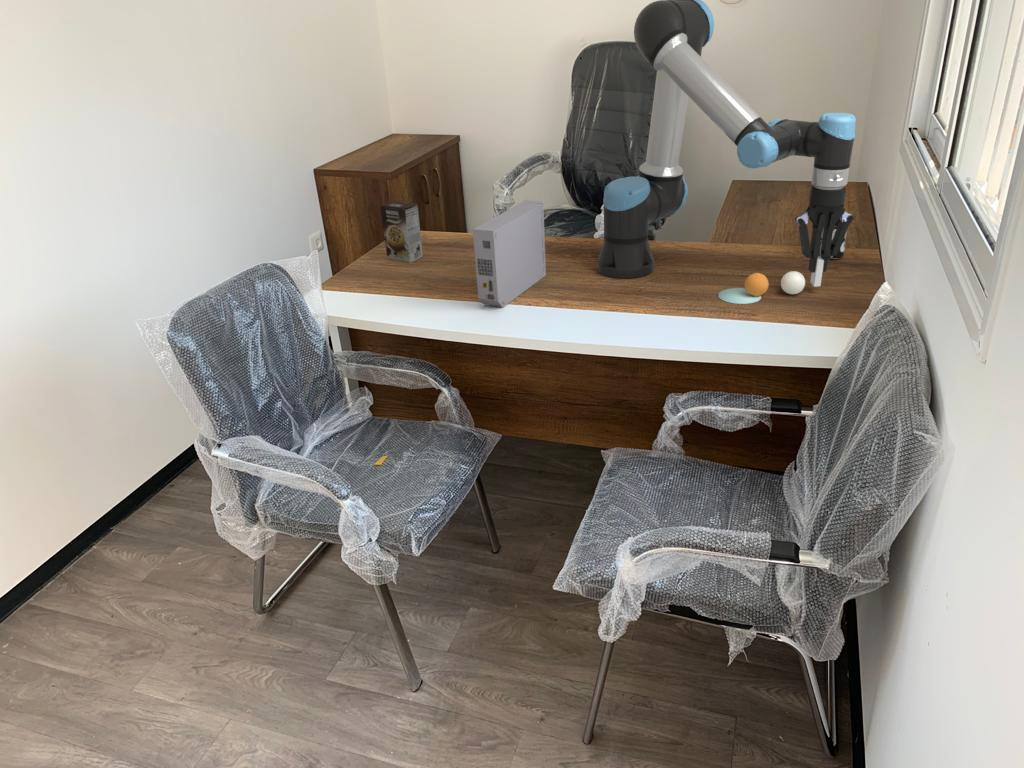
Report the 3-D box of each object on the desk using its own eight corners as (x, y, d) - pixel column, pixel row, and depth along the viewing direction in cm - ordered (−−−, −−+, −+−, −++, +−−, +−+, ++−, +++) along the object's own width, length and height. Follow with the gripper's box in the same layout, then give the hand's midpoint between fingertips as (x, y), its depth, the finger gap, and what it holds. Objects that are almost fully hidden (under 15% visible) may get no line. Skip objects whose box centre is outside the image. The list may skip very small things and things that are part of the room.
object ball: (764, 302, 181) (744, 295, 180) (757, 294, 186) (737, 286, 185) (775, 282, 179) (755, 274, 178) (768, 274, 184) (748, 266, 183)
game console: (548, 274, 205) (545, 201, 195) (499, 311, 184) (494, 231, 174) (529, 272, 207) (525, 199, 198) (479, 308, 186) (472, 229, 177)
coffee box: (386, 259, 224) (378, 205, 216) (400, 253, 229) (393, 199, 221) (410, 263, 219) (403, 208, 212) (424, 256, 224) (417, 202, 217)
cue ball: (813, 284, 179) (796, 302, 181) (804, 276, 184) (788, 293, 186) (798, 271, 177) (781, 289, 179) (789, 263, 182) (772, 281, 184)
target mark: (724, 305, 179) (724, 304, 179) (713, 290, 188) (713, 289, 188) (766, 302, 179) (766, 301, 179) (754, 287, 188) (754, 286, 187)
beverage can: (839, 252, 207) (845, 209, 201) (846, 260, 201) (853, 215, 195) (814, 253, 207) (819, 209, 202) (820, 261, 202) (826, 216, 196)
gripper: (805, 191, 168) (793, 291, 179) (864, 188, 168) (848, 288, 179) (794, 183, 174) (782, 280, 185) (851, 180, 174) (836, 277, 185)
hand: (815, 284), depth 182 cm, fingers closed
